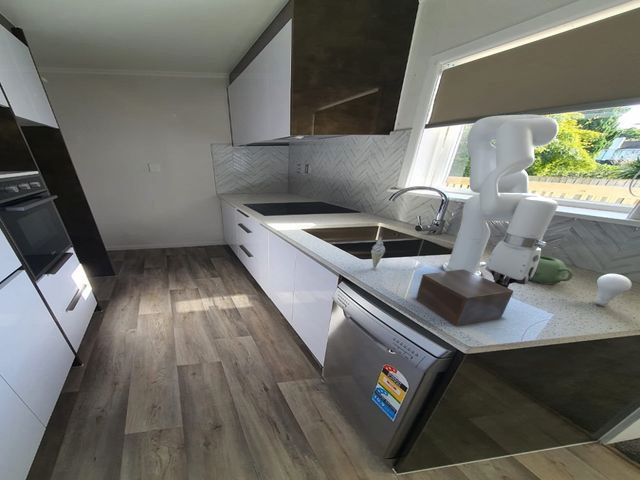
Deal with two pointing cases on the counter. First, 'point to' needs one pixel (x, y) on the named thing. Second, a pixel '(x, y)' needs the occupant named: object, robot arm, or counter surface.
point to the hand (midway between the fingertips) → (497, 292)
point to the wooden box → (463, 296)
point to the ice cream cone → (377, 252)
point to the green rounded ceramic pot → (551, 271)
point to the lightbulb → (611, 287)
